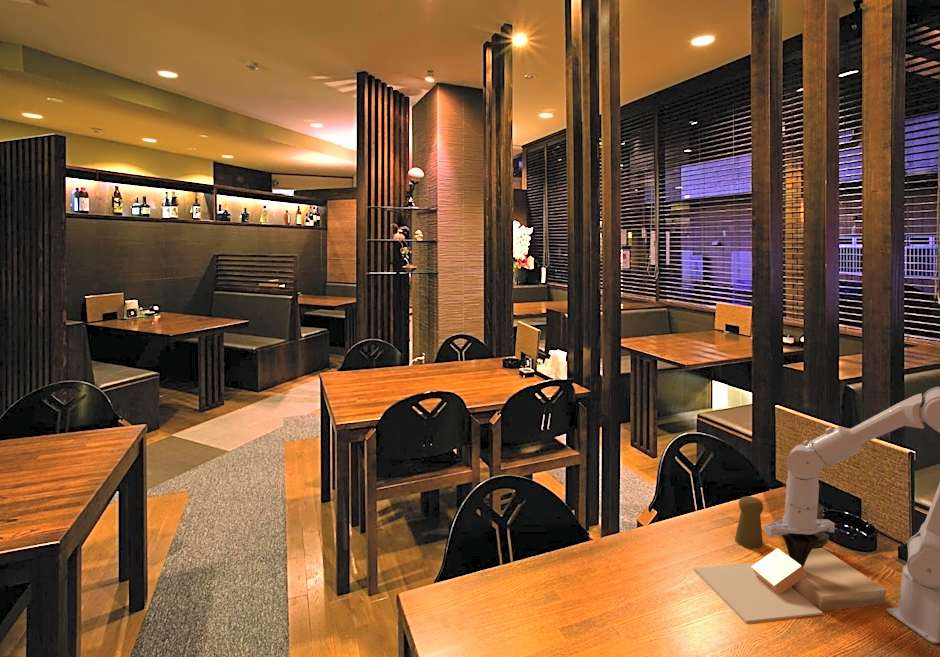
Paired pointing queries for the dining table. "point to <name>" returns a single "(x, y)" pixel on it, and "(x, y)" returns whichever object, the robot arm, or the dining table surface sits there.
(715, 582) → the mat
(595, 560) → the dining table surface
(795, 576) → the coaster
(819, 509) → the dark chess piece
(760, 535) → the cork
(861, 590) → the serving board
